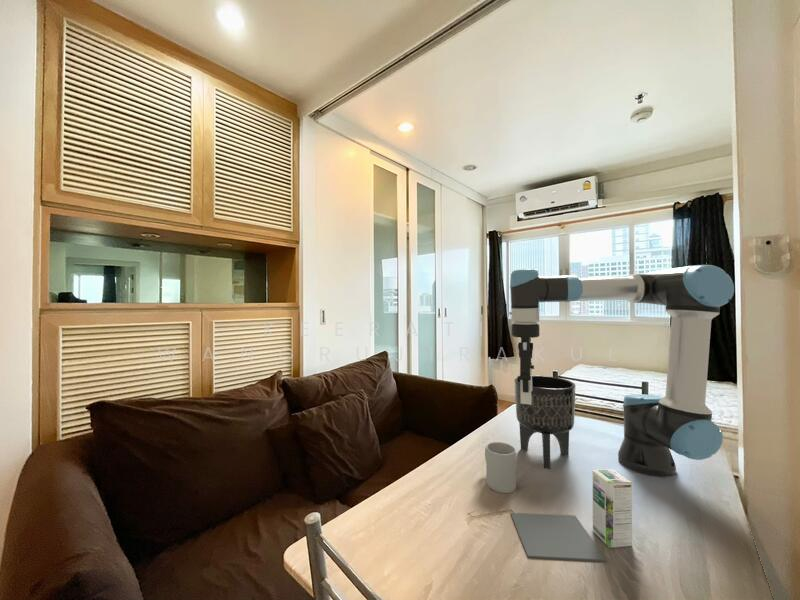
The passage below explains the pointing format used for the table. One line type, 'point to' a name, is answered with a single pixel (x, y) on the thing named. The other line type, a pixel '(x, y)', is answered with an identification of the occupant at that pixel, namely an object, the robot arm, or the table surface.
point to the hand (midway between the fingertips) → (526, 396)
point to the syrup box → (612, 508)
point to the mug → (500, 467)
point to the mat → (555, 537)
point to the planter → (547, 413)
